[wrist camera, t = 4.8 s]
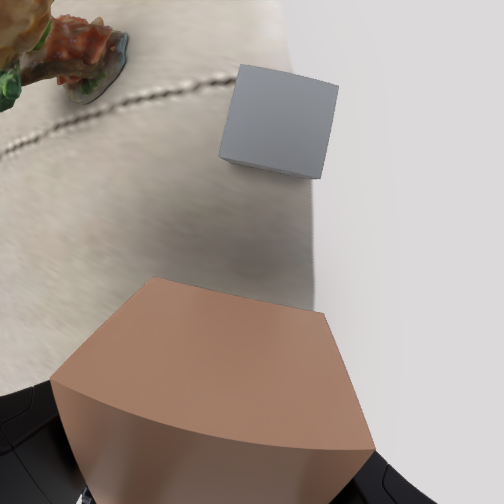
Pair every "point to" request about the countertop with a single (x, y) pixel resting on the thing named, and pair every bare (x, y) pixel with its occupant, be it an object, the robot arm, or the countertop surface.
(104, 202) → the countertop surface
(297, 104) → the slate cube
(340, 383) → the terracotta cube
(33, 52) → the figurine
